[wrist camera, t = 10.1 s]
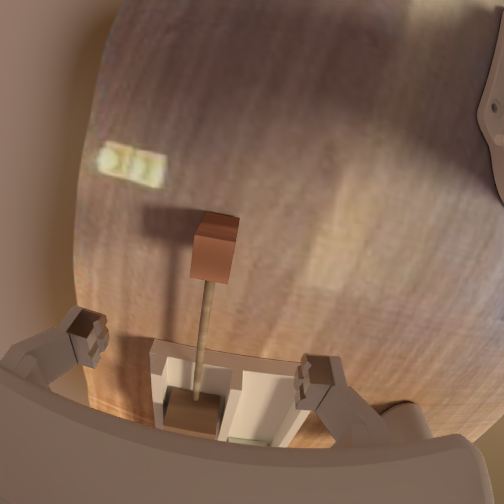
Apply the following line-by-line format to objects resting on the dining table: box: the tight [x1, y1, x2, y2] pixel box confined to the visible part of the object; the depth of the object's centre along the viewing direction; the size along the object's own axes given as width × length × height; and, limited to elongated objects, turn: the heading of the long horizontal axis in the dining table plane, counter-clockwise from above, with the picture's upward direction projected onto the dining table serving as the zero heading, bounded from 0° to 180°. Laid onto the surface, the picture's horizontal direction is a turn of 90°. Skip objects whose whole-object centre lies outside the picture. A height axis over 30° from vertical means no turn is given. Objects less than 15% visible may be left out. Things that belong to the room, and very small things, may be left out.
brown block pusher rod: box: [163, 212, 240, 440], centre depth 24 cm, size 24×5×7 cm, turn 169°
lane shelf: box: [149, 339, 310, 448], centre depth 30 cm, size 22×17×7 cm
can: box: [380, 403, 433, 444], centre depth 29 cm, size 8×8×12 cm
